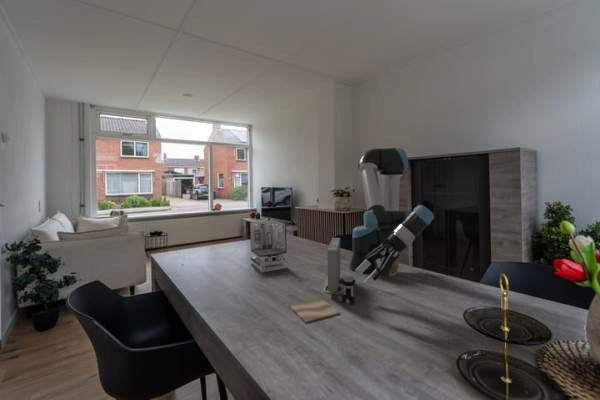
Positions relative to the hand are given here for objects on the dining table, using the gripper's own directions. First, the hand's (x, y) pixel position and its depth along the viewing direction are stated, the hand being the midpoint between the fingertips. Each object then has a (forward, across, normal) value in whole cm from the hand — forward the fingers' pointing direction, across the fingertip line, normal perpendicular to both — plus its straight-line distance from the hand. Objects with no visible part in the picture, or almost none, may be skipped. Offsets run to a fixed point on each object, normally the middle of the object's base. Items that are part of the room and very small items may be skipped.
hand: (361, 278), depth 108 cm
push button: (+11, +2, -3) cm, 12 cm away
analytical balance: (+36, +50, +22) cm, 66 cm away
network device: (+13, +19, -1) cm, 23 cm away
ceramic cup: (-9, +36, -24) cm, 44 cm away
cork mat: (+21, -4, +7) cm, 22 cm away
